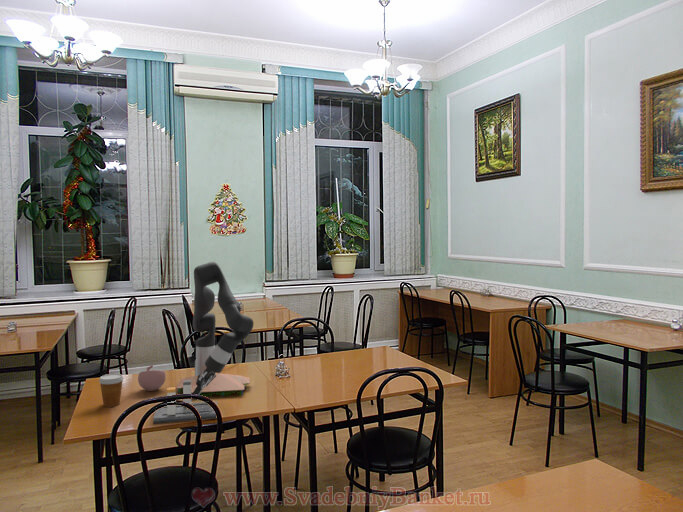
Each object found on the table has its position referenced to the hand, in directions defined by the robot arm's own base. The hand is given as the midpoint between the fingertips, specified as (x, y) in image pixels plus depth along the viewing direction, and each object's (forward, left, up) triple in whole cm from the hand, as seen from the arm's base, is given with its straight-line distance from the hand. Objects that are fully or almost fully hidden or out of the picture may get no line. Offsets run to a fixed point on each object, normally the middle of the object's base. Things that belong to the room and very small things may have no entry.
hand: (195, 394), depth 203 cm
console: (-4, -1, -8) cm, 9 cm away
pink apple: (-43, +11, -9) cm, 45 cm away
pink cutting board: (-19, +27, -9) cm, 35 cm away
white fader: (-7, +2, -7) cm, 10 cm away
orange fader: (-4, -8, -7) cm, 12 cm away
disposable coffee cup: (-40, -11, -9) cm, 42 cm away
